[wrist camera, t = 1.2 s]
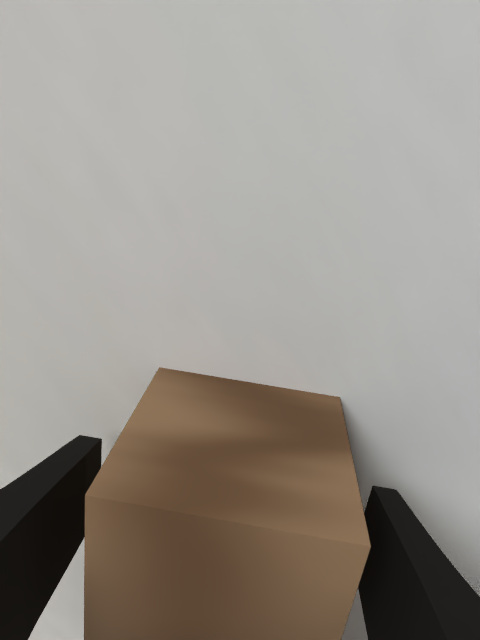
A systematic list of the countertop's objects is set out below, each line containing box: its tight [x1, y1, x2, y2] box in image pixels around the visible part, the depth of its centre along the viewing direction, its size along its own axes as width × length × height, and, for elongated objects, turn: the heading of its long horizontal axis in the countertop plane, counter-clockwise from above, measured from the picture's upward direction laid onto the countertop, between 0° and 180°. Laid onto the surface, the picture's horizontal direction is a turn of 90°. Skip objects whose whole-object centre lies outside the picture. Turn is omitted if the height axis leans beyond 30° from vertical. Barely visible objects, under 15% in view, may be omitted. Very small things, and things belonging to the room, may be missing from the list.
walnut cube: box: [84, 367, 371, 640], centre depth 11 cm, size 5×5×5 cm
